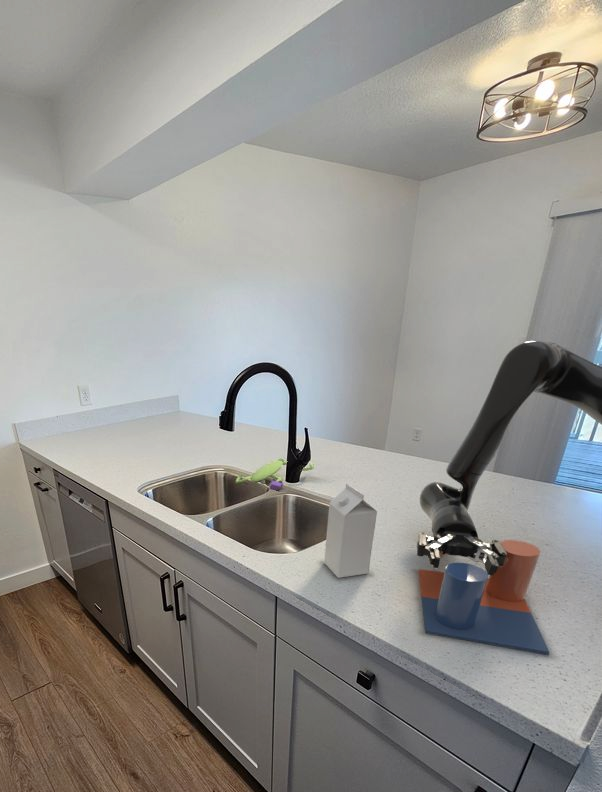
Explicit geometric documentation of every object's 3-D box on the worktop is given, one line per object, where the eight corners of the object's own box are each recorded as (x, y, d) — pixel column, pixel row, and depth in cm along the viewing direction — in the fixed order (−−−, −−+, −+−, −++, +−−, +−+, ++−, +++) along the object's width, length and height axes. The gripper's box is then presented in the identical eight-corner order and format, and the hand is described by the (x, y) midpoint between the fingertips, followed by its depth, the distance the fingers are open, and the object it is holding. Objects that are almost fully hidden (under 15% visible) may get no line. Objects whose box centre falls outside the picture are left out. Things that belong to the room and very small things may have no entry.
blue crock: (471, 611, 80) (484, 565, 76) (477, 632, 75) (491, 584, 71) (433, 605, 83) (443, 560, 78) (435, 625, 77) (447, 578, 73)
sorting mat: (516, 584, 88) (516, 581, 88) (548, 654, 70) (549, 652, 70) (418, 571, 95) (419, 569, 95) (425, 633, 77) (425, 630, 76)
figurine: (321, 477, 153) (322, 461, 151) (268, 496, 139) (268, 480, 137) (281, 466, 166) (282, 452, 164) (229, 483, 152) (229, 467, 150)
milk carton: (352, 558, 101) (361, 481, 93) (368, 574, 95) (380, 492, 86) (323, 563, 100) (330, 485, 92) (337, 578, 94) (346, 496, 85)
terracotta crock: (520, 586, 87) (535, 542, 82) (528, 604, 81) (545, 558, 77) (483, 581, 89) (495, 538, 84) (489, 598, 84) (502, 553, 79)
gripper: (418, 509, 91) (423, 543, 77) (497, 515, 86) (518, 554, 72) (412, 541, 94) (416, 579, 81) (488, 549, 89) (506, 591, 76)
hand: (464, 567), depth 77 cm, fingers open, 8 cm apart
